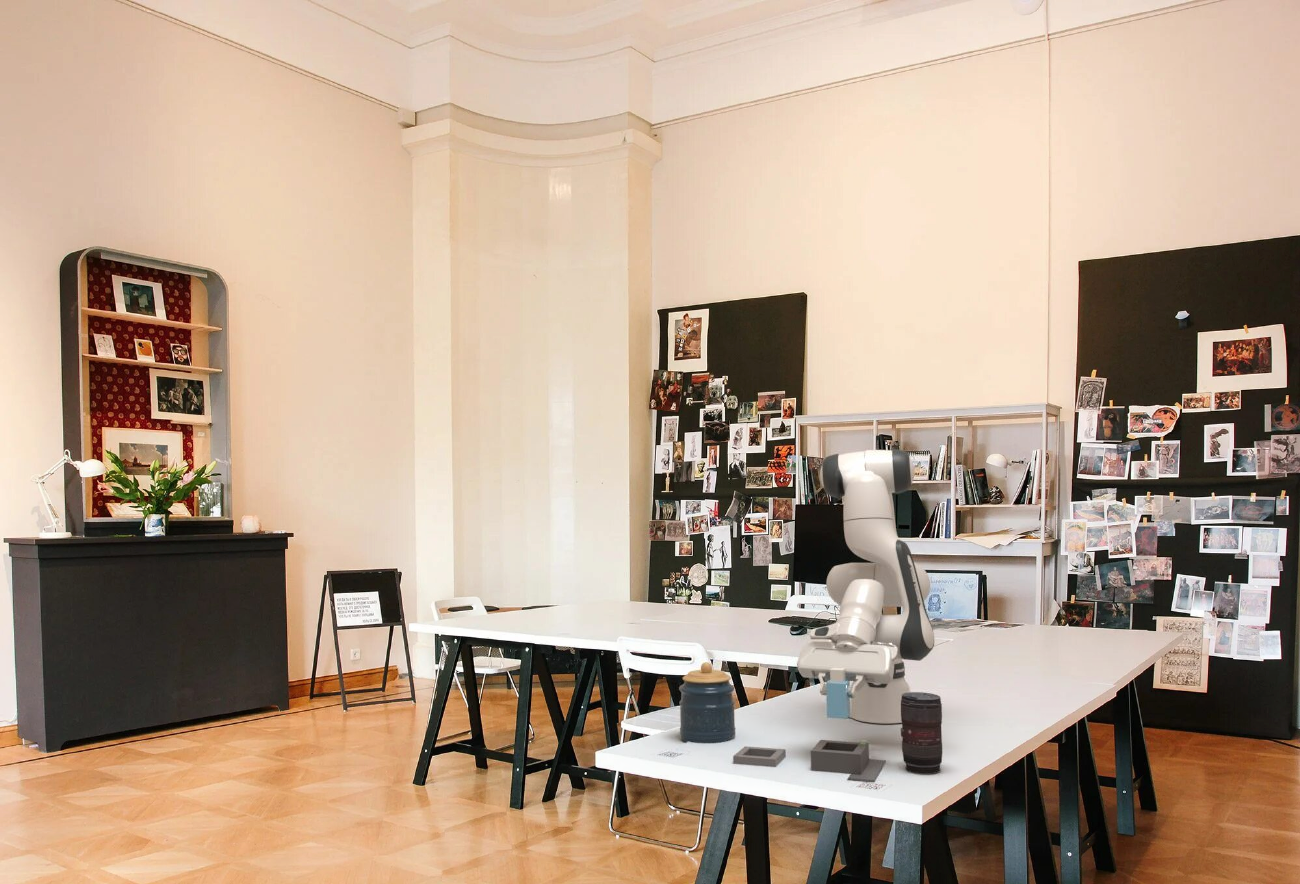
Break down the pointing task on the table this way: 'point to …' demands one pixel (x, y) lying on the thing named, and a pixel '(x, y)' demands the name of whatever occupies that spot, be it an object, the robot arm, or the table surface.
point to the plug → (837, 694)
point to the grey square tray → (759, 756)
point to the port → (846, 759)
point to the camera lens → (921, 732)
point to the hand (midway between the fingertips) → (837, 694)
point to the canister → (707, 706)
